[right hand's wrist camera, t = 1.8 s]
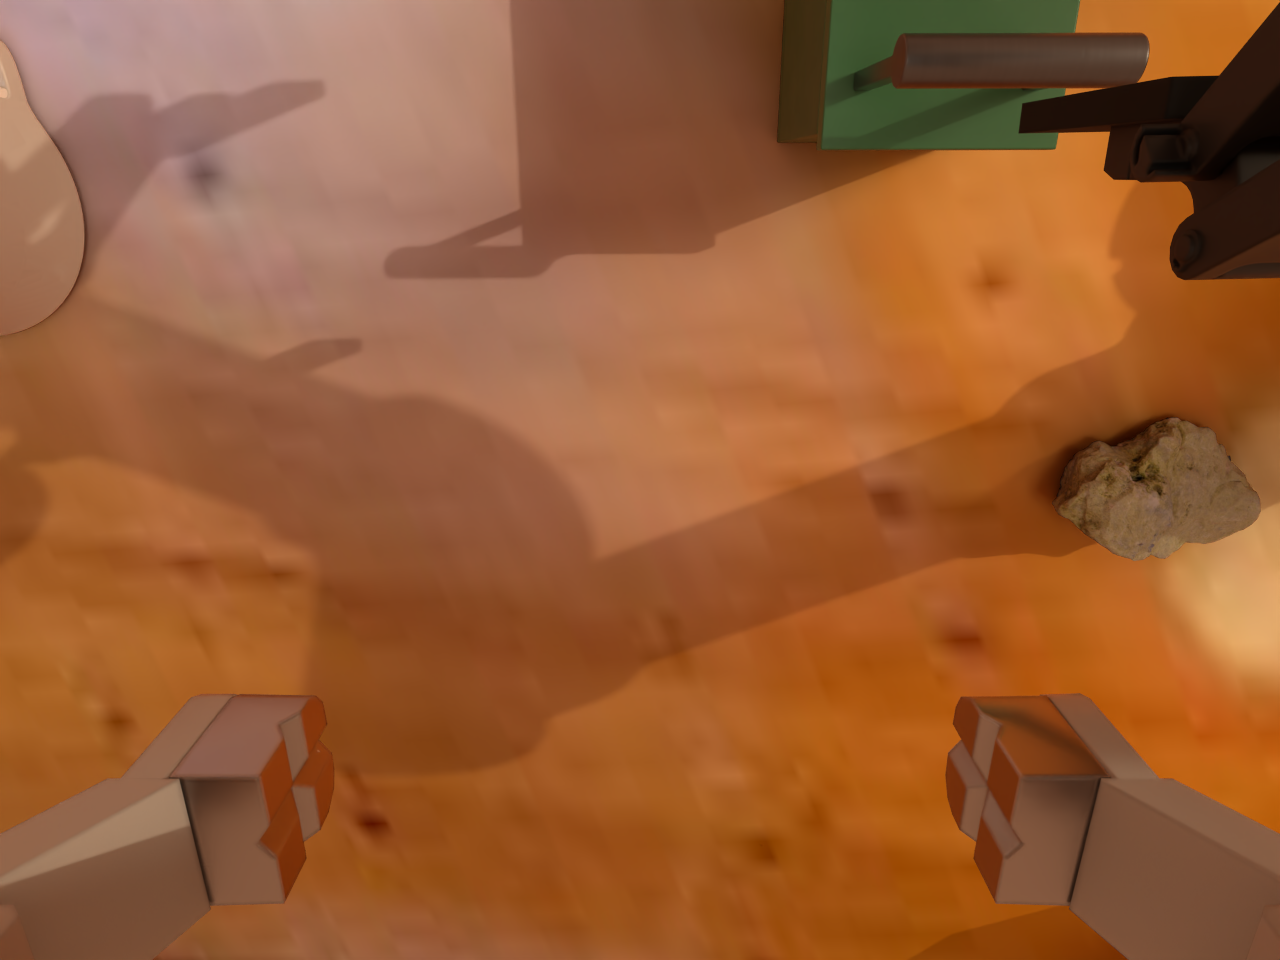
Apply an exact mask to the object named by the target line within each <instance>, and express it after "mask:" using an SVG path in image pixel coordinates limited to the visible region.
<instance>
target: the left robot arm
mask: <svg viewBox="0 0 1280 960" xmlns="http://www.w3.org/2000/svg"><path fill="white" fill-rule="evenodd" d="M1065 132H1110V136H1109V142H1108V148H1107V154H1106V160H1105V166H1104V171H1105V172H1106V173H1107V174H1108V175H1109V176H1110V177H1111V178H1113V179H1114V180H1138V181H1139V182H1179V181H1180V182H1182V183H1184V184H1185V185H1186V186H1187V187H1188V189H1189V190H1190V192H1191V195H1192V198H1193V205H1194V214H1192V215H1191V216H1189V217H1188V218H1186V219H1185V220H1184V221H1183V222H1182V223H1181V224H1180V225H1179V227H1178V228H1177V230H1176V232H1175V234H1174V235H1173V239H1172V243H1171V246H1170V263H1171V267H1172V270H1173V272H1174V273H1175V274H1176V276H1177V277H1179V278H1181V279H1183V280H1206V279H1251V278H1280V3H1279V4H1278V5H1277V6H1276V8H1275V9H1274V10H1273V11H1272V12H1271V14H1270V15H1269V16H1268V17H1267V18H1266V20H1265V21H1264V22H1263V23H1262V25H1261V26H1260V27H1259V28H1258V29H1257V31H1256V32H1255V33H1254V34H1253V35H1252V37H1251V38H1250V39H1249V40H1248V42H1247V43H1246V44H1245V45H1244V46H1243V48H1242V49H1241V50H1240V51H1239V52H1238V54H1237V55H1236V56H1235V57H1234V58H1233V60H1232V61H1231V62H1230V63H1229V65H1228V66H1227V67H1226V68H1225V69H1224V71H1223V72H1222V73H1221V74H1220V75H1219V76H1185V77H1168V78H1162V79H1157V80H1151V81H1145V82H1140V83H1134V84H1128V85H1123V86H1117V87H1111V88H1106V89H1100V90H1094V91H1089V92H1083V93H1077V94H1072V95H1066V96H1060V97H1055V98H1049V99H1043V100H1038V101H1032V102H1026V103H1022V109H1021V117H1020V125H1019V132H1018V134H1020V133H1065Z"/></svg>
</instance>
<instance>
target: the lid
mask: <svg viewBox="0 0 1280 960" xmlns="http://www.w3.org/2000/svg"><path fill="white" fill-rule="evenodd" d="M1079 4H1080V0H827V3H826V17H825V32H824V46H823V61H822V76H821V90H820V105H819V119H818V134H817V150H818V151H819V150H1053V149H1055V148H1056V144H1057V138H1058V133H1020V134H1018V132H1019V125H1020V117H1021V109H1022V103H1026V102H1032V101H1038V100H1043V99H1049V98H1055V97H1060V96H1065V89H1066V88H1111V87H1117V86H1123V85H1128V84H1134V83H1137V82H1138V81H1139V79H1140V78H1141V76H1142V74H1143V72H1144V70H1145V68H1146V65H1147V62H1148V57H1149V41H1148V38H1147V36H1146V35H1145V34H1143V33H1075V29H1076V23H1077V17H1078V10H1079Z"/></svg>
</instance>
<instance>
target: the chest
mask: <svg viewBox="0 0 1280 960" xmlns="http://www.w3.org/2000/svg"><path fill="white" fill-rule="evenodd" d="M826 3H827V0H785V1H784V20H783V39H782V58H781V77H780V96H779V115H778V134H777V142H778V143H799V142H817V134H818V119H819V105H820V90H821V76H822V61H823V46H824V32H825V17H826Z"/></svg>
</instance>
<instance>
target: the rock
mask: <svg viewBox="0 0 1280 960" xmlns="http://www.w3.org/2000/svg"><path fill="white" fill-rule="evenodd" d="M1060 485H1061V487H1060V490H1059V492H1058V494H1057V498H1056V499H1055V500H1054V501H1053V502H1052V504H1053V506H1054V507H1055V510H1056V511H1057V512H1058V514H1059V515H1061V516H1062V517H1065V518H1068V519H1069V520H1070V521H1072V522H1073V523H1074V524H1075V525H1076V526H1077V527H1078V528H1079V529H1080V530H1081V531H1082V532H1083V533H1084V534H1086V535H1087V536H1089V537H1090V538H1092V539H1093V540H1095V541H1096V542H1098V543H1099V544H1100V545H1102V546H1104V547H1105V548H1107V549H1108V550H1109V551H1111V552H1112V553H1113V554H1116V555H1119V556H1122V557H1125V558H1130V559H1132V560H1133V561H1137V560H1143V559H1145V558H1146V557H1148V556H1150V555H1153V556H1155V557H1158V558H1164V559H1165V558H1167V557H1168V556H1170V555H1171V554H1172V553H1173V552H1175V551H1176V550H1178V549H1179V548H1180V547H1181V546H1182V545H1183V544H1184V543H1185V542H1188V543H1202V544H1206V543H1211V542H1215V541H1218V540H1220V539H1223V538H1225V537H1227V536H1229V535H1231V534H1233V533H1235V532H1238V531H1240V530H1243V529H1245V528H1247V527H1248V526H1250V525H1251V524H1252V523H1253V522H1254V521H1255V520H1257V518H1258V516H1259V514H1260V499H1259V496H1258V494H1257V492H1255V491H1254V490H1253V489H1252V487H1251V486H1250V484H1249V483H1248V482H1247V480H1246V477H1245V475H1244V474H1243V473H1242V471H1241V470H1240V469H1239V468H1237V467H1236V466H1235V465H1234V464H1233V463H1232V462H1231V459H1230V456H1227V454H1226V450H1225V447H1224V446H1223V445H1222V444H1218V443H1217V439H1216V434H1215V432H1214V431H1213V430H1212V429H1210V428H1208V427H1197V426H1196V425H1194V424H1192V423H1190V422H1188V421H1181V420H1180V419H1179V418H1166V419H1165V420H1161V421H1160V422H1155V423H1153V424H1152V425H1150V426H1149V427H1148V428H1146V430H1145V431H1144V432H1141V433H1139V434H1137V435H1136V437H1134V438H1133V439H1131V440H1128V441H1125V442H1122V443H1119V444H1117V445H1116V446H1114V447H1111V446H1110V445H1108V444H1106V443H1104V442H1102V441H1095V442H1093V443H1091V444H1090V445H1089V446H1088V447H1087V448H1085V449H1084V450H1081V451H1079V452H1077V453H1076V454H1075V455H1074V456H1073V459H1072V460H1070V461H1069V463H1068V465H1067V466H1066V467H1065V470H1064V472H1063V476H1062V477H1061V480H1060Z"/></svg>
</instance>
